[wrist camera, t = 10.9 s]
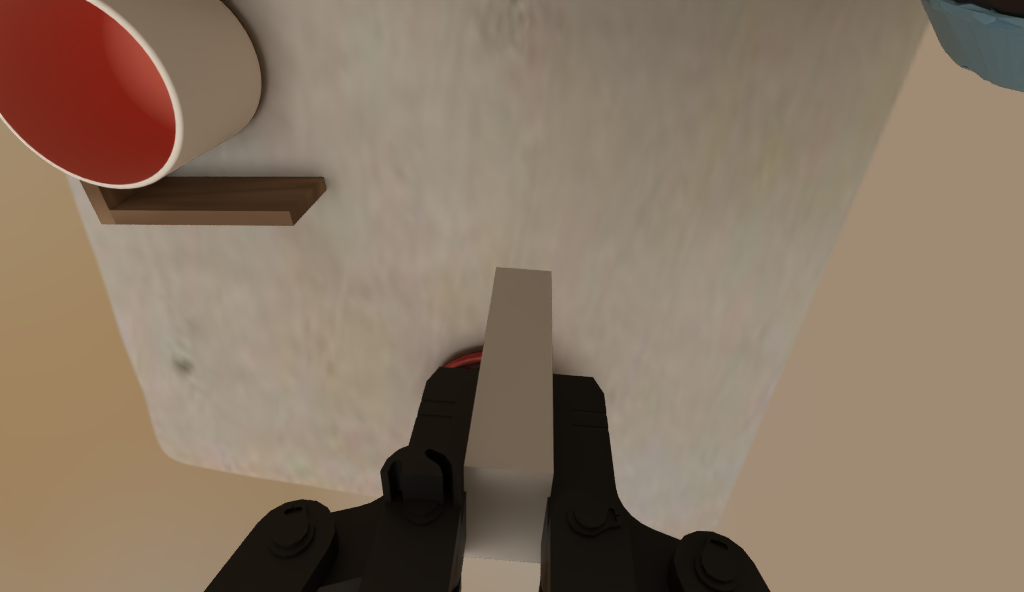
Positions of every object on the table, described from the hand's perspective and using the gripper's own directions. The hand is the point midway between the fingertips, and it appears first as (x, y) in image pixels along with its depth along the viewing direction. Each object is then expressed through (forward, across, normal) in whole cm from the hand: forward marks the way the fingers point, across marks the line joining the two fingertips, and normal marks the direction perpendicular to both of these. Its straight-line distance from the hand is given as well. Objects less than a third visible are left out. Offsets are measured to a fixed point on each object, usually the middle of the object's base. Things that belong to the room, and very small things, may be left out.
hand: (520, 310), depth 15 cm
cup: (+24, -23, +1) cm, 33 cm away
